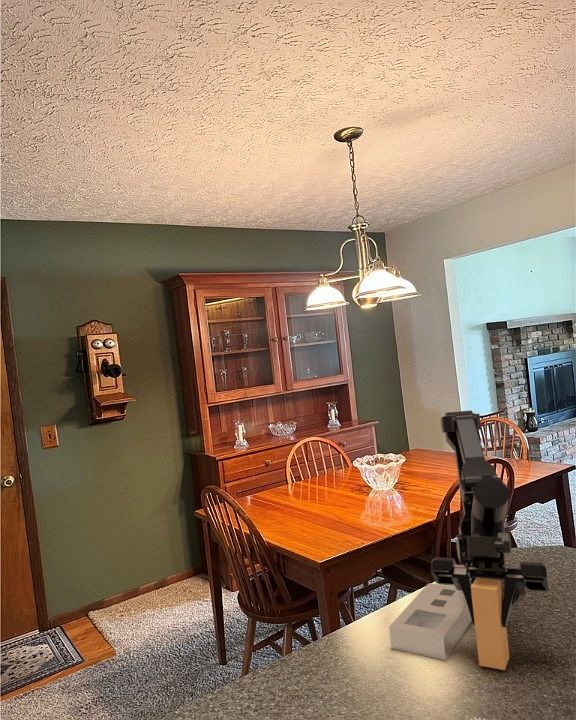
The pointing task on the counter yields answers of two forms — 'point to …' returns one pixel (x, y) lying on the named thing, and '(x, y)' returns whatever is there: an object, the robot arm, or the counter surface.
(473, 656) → the counter surface
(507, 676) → the counter surface
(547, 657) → the counter surface
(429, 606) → the white peg board
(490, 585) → the orange post
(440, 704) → the counter surface
